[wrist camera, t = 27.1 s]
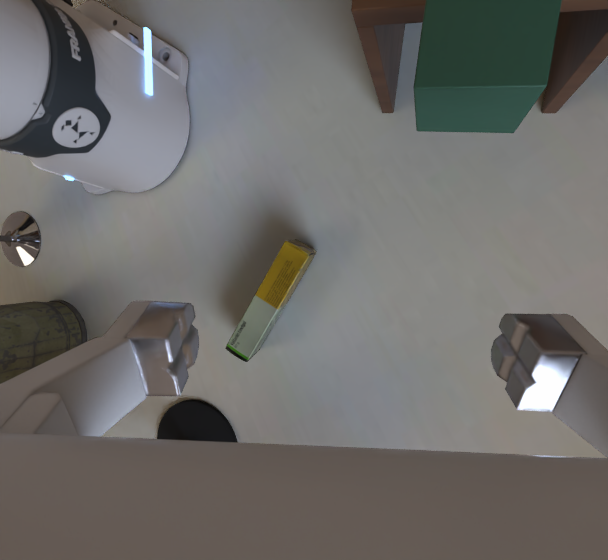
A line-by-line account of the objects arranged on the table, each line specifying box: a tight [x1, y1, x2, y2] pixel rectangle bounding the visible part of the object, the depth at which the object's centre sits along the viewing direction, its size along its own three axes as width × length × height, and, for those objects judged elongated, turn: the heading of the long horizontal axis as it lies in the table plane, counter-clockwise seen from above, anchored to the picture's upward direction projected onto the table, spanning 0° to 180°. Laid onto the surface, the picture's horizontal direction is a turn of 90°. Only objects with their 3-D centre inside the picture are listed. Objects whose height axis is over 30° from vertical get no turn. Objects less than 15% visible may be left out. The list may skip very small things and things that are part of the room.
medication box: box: [225, 239, 317, 362], centre depth 35 cm, size 12×3×4 cm, turn 149°
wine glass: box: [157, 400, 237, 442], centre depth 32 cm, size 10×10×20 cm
